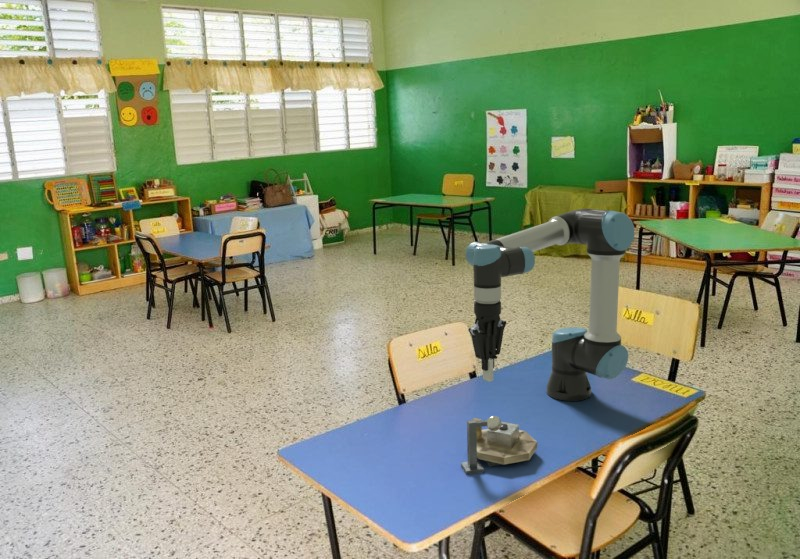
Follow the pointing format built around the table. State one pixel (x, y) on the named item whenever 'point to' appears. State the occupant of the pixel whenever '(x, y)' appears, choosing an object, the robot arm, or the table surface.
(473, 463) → the dial post
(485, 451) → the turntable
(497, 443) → the cover
